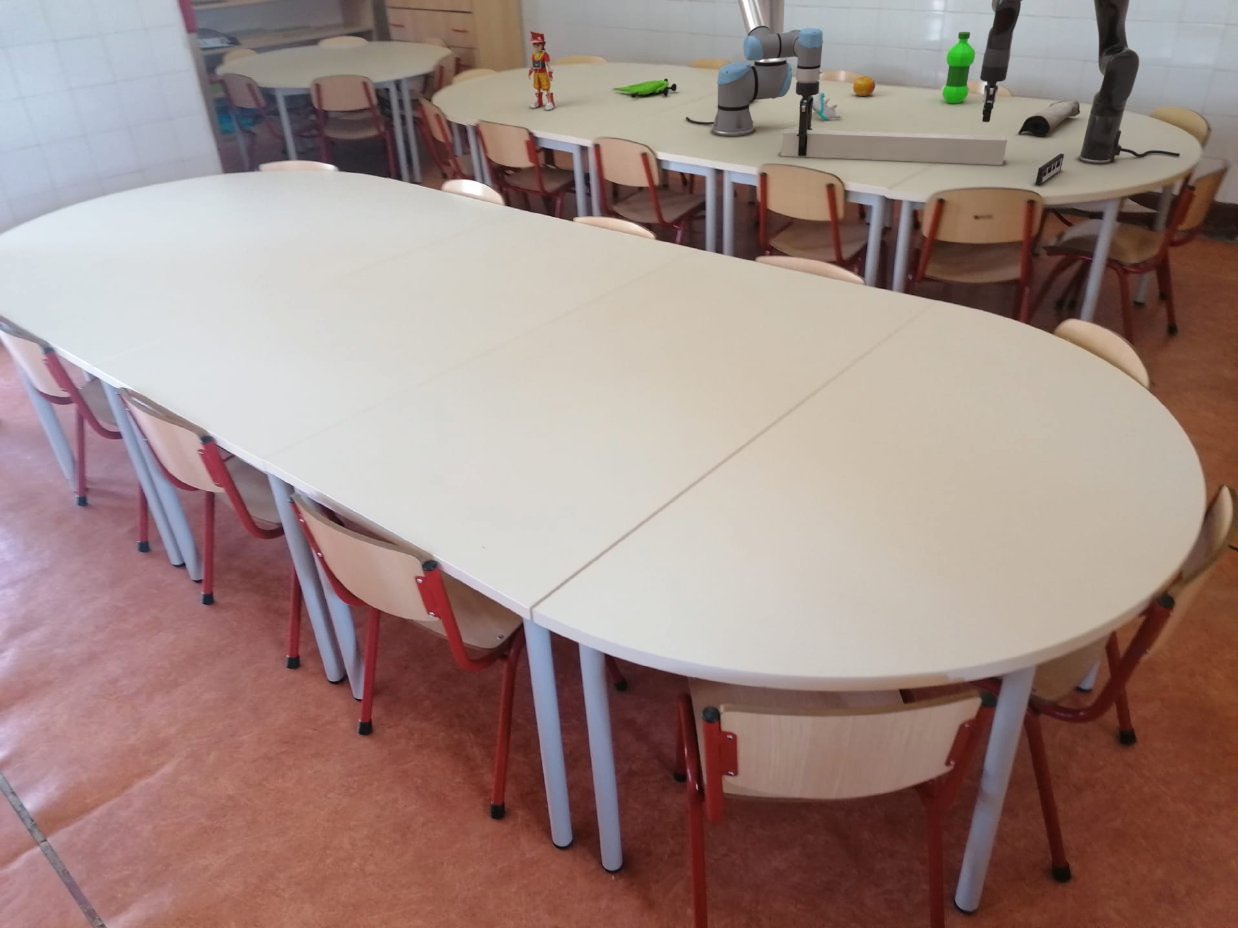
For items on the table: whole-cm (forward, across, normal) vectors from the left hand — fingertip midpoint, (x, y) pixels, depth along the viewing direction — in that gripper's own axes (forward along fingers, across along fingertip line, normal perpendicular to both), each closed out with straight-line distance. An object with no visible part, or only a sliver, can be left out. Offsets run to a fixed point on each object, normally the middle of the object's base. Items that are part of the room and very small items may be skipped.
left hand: (803, 153), depth 307 cm
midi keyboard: (+1, -14, -77) cm, 78 cm away
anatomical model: (+1, +52, 0) cm, 52 cm away
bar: (+1, 0, -28) cm, 28 cm away
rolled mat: (+1, +47, -80) cm, 93 cm away
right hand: (-13, 0, -57) cm, 58 cm away
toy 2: (+1, +84, +85) cm, 120 cm away
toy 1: (+1, +53, +119) cm, 130 cm away
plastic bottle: (+1, +79, -47) cm, 92 cm away
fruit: (+1, +87, -11) cm, 88 cm away
